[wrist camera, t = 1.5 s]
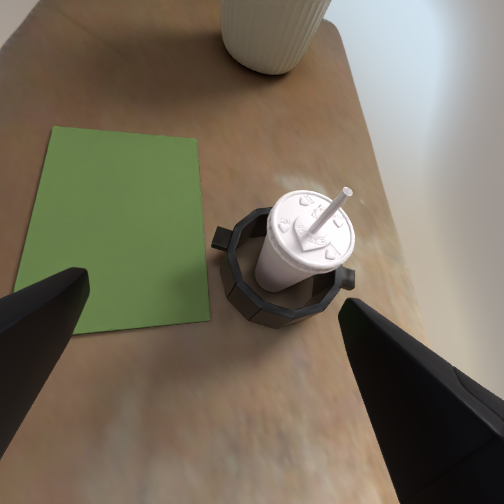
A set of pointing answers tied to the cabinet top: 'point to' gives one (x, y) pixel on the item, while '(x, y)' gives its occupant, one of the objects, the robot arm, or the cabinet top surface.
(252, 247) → the cabinet top surface
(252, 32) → the canister
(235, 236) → the pot
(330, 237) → the smoothie
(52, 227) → the cloth
